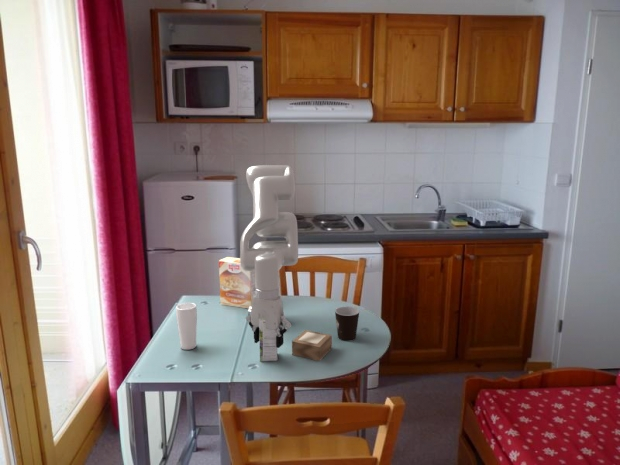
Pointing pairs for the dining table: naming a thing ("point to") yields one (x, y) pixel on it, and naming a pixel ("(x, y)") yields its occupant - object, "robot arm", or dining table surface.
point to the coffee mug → (347, 322)
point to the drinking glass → (187, 325)
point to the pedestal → (312, 345)
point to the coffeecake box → (235, 283)
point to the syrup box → (267, 343)
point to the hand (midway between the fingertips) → (268, 343)
